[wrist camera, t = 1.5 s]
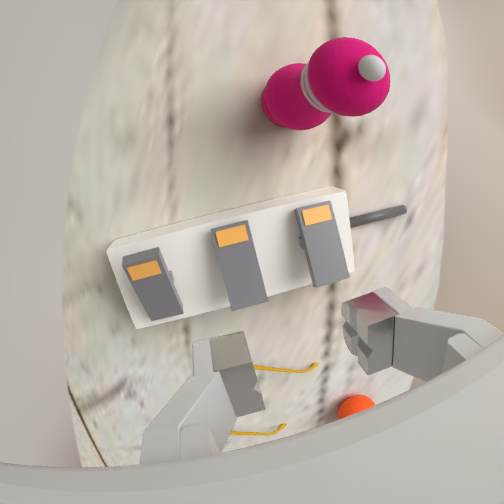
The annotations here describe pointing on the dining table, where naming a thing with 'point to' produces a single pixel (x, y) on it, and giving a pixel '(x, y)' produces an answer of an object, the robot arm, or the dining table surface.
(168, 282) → the block
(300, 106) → the pepper mill
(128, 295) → the power strip
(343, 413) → the clementine
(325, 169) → the dining table surface
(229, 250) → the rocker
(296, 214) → the rocker
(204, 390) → the robot arm
